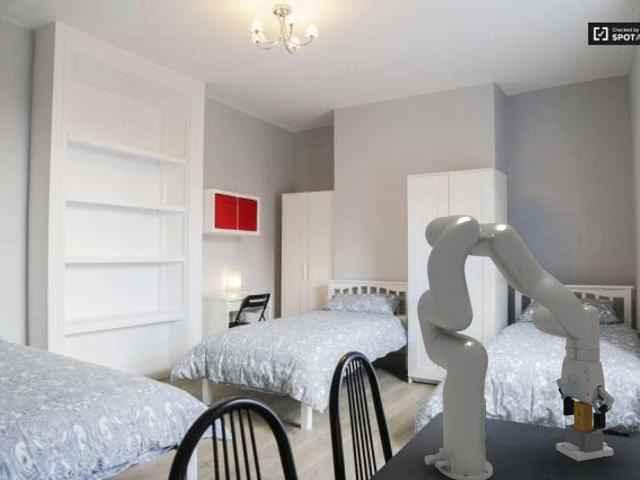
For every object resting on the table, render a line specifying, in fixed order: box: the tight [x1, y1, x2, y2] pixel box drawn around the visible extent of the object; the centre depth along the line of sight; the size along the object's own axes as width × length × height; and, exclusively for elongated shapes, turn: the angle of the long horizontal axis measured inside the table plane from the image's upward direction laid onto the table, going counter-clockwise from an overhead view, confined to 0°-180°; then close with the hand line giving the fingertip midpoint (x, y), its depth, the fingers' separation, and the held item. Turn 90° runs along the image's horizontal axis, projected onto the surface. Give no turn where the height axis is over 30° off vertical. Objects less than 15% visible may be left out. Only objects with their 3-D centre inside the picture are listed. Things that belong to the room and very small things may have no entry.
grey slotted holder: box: [555, 423, 614, 462], centre depth 122 cm, size 11×7×6 cm, turn 106°
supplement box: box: [573, 400, 594, 433], centre depth 122 cm, size 3×3×10 cm
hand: (583, 421), depth 122 cm, fingers open, 9 cm apart
